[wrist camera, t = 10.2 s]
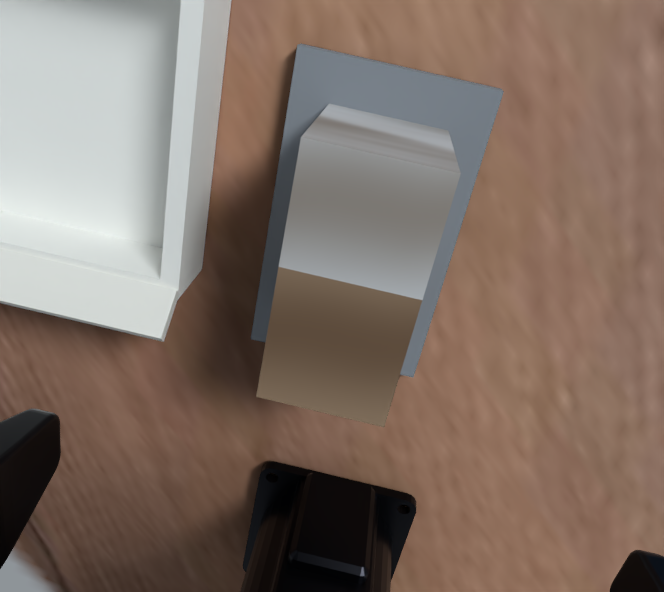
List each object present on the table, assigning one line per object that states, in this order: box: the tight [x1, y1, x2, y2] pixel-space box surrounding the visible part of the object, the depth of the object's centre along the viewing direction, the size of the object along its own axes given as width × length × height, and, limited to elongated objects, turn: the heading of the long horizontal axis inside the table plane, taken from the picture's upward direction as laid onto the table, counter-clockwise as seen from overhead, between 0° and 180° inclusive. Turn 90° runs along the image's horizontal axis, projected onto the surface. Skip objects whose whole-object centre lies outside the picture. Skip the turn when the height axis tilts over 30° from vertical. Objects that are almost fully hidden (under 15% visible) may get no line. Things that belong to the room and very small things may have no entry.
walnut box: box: [256, 104, 461, 427], centre depth 17 cm, size 7×4×5 cm, turn 169°
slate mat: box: [251, 44, 504, 377], centre depth 19 cm, size 10×6×1 cm, turn 169°
